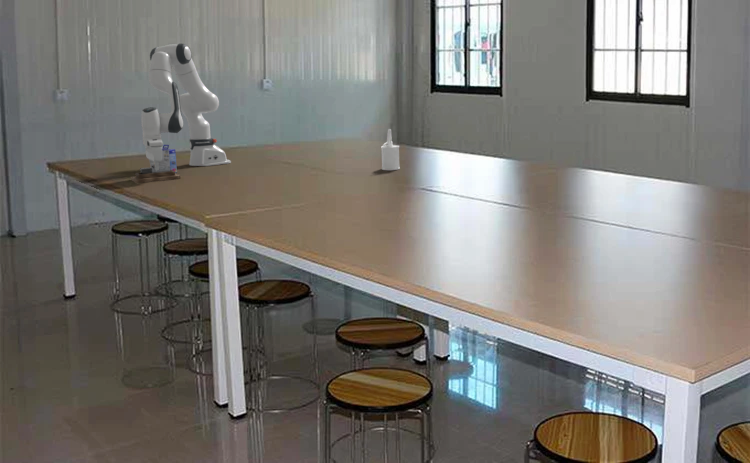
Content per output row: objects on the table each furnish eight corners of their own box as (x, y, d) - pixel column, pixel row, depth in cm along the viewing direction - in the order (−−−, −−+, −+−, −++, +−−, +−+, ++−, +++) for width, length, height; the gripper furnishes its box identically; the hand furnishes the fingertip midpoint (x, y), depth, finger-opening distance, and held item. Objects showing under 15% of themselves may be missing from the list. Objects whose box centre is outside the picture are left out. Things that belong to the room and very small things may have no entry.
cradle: (174, 175, 459) (174, 168, 458) (180, 178, 448) (180, 171, 448) (130, 179, 450) (130, 172, 449) (135, 183, 439) (135, 175, 438)
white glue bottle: (403, 169, 453) (402, 129, 449) (387, 171, 449) (386, 130, 444) (392, 166, 462) (391, 127, 458) (376, 168, 457) (375, 129, 453)
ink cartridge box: (177, 172, 470) (175, 144, 467) (170, 174, 465) (168, 145, 462) (163, 171, 475) (160, 144, 472) (155, 173, 470) (153, 145, 467)
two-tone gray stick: (142, 178, 444) (141, 169, 443) (140, 177, 448) (140, 168, 447) (170, 175, 450) (170, 166, 449) (168, 174, 453) (168, 165, 453)
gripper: (141, 139, 453) (144, 167, 456) (150, 143, 435) (152, 172, 438) (154, 138, 456) (156, 166, 458) (163, 142, 437) (165, 170, 440)
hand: (154, 169), depth 448 cm, fingers open, 8 cm apart
